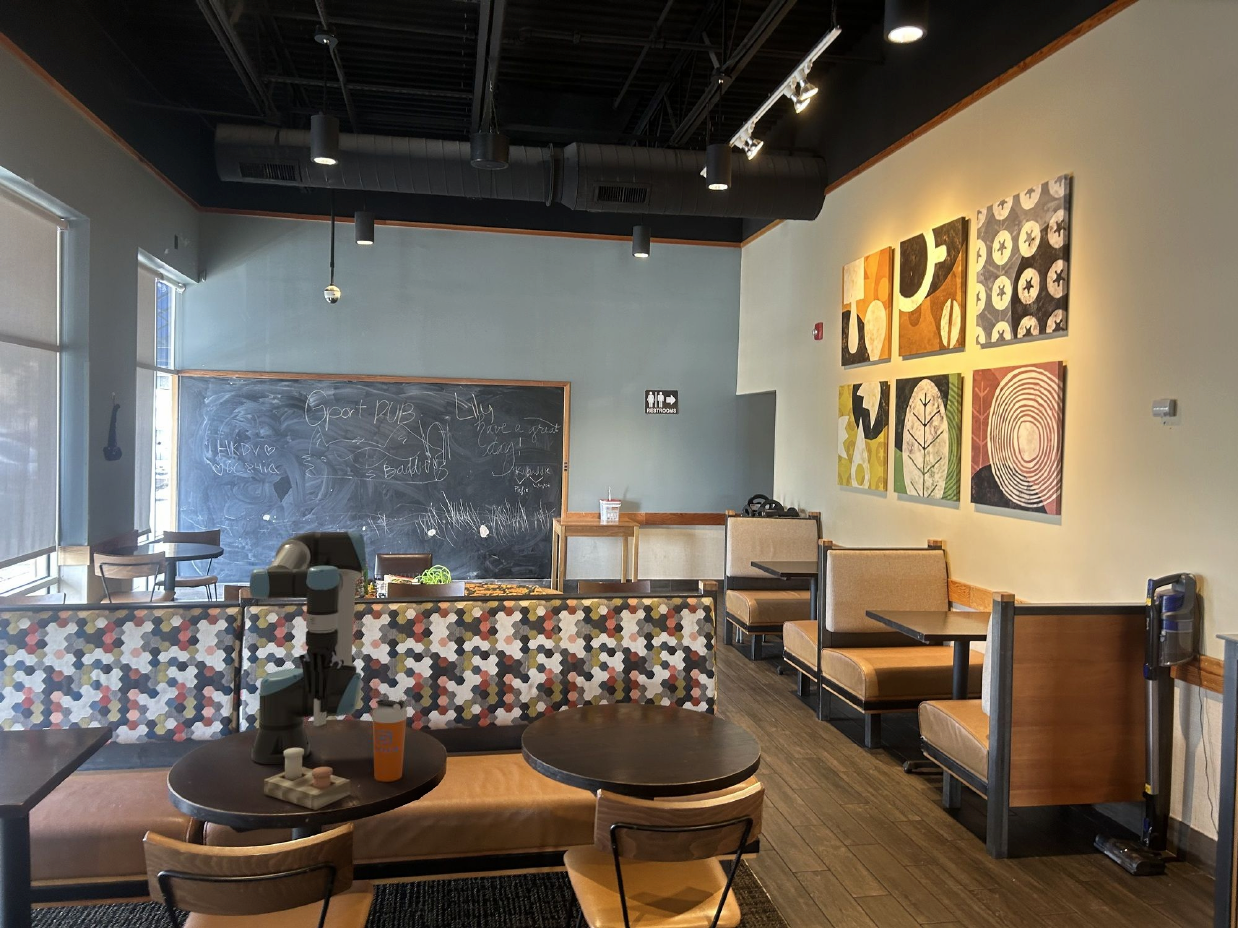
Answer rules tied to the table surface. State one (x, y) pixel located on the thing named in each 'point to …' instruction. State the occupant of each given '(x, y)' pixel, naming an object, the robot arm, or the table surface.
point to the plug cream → (293, 763)
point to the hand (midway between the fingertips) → (319, 723)
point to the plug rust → (321, 777)
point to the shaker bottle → (389, 739)
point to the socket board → (306, 789)
